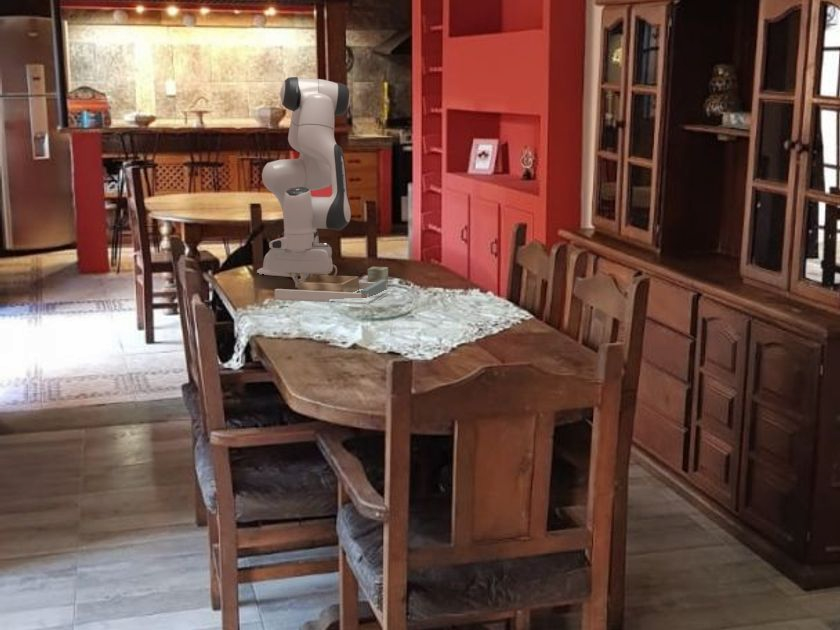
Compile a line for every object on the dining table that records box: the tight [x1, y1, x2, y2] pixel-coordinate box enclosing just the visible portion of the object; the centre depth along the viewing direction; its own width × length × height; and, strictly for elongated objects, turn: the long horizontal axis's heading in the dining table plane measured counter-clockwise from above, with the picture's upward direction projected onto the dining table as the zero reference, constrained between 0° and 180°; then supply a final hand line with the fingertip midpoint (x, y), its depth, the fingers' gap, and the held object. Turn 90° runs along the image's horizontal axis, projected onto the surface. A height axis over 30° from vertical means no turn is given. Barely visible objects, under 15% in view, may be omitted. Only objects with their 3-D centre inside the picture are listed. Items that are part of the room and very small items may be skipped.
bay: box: [274, 278, 389, 303], centre depth 324 cm, size 29×19×5 cm, turn 73°
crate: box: [297, 274, 360, 293], centre depth 324 cm, size 14×14×5 cm
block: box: [367, 266, 389, 284], centre depth 338 cm, size 5×5×7 cm
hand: (300, 287), depth 326 cm, fingers closed
